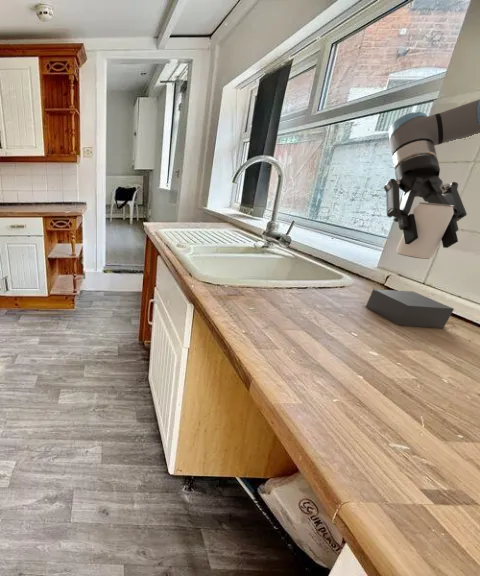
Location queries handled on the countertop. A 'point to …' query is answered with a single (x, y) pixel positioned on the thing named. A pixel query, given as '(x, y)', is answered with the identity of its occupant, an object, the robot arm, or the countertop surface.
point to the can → (427, 230)
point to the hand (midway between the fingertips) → (430, 242)
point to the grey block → (409, 308)
